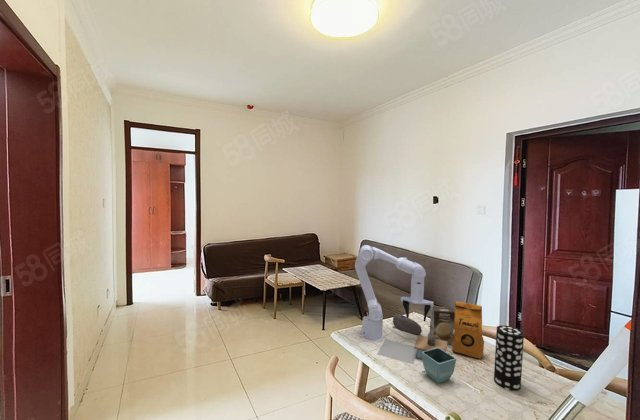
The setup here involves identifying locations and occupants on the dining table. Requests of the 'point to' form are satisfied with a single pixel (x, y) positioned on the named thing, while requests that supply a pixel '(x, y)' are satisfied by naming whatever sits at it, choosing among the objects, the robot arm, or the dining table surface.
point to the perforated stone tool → (406, 324)
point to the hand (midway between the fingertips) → (416, 318)
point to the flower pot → (438, 364)
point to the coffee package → (468, 330)
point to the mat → (398, 351)
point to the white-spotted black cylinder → (508, 357)
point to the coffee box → (442, 323)
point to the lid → (429, 343)
